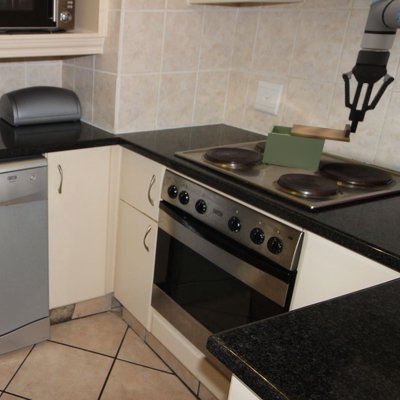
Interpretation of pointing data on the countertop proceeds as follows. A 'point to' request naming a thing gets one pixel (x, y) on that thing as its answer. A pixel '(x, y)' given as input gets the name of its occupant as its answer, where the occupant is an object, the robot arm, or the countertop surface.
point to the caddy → (292, 149)
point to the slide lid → (322, 132)
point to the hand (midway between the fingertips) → (352, 131)
